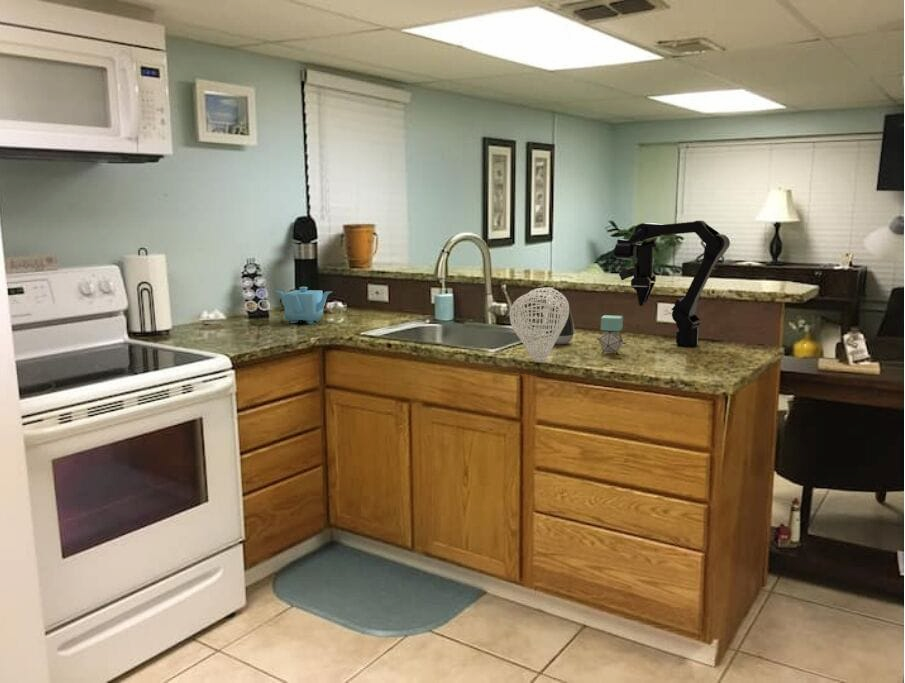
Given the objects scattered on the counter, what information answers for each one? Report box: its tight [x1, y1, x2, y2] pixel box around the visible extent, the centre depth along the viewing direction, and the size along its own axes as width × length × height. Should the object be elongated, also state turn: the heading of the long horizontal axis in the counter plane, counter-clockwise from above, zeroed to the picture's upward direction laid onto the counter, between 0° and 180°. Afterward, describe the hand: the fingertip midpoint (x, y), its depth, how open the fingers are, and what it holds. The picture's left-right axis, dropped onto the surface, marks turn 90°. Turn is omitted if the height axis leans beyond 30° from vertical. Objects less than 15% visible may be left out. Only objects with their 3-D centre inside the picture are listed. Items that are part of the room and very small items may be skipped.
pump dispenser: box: [545, 301, 575, 345], centre depth 269 cm, size 10×10×15 cm
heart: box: [509, 287, 570, 363], centre depth 237 cm, size 28×16×22 cm, turn 163°
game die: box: [596, 329, 627, 355], centre depth 252 cm, size 9×8×10 cm
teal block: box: [600, 314, 624, 332], centre depth 251 cm, size 6×6×4 cm
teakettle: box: [274, 286, 332, 325], centre depth 322 cm, size 19×19×15 cm
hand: (642, 304), depth 273 cm, fingers open, 9 cm apart
